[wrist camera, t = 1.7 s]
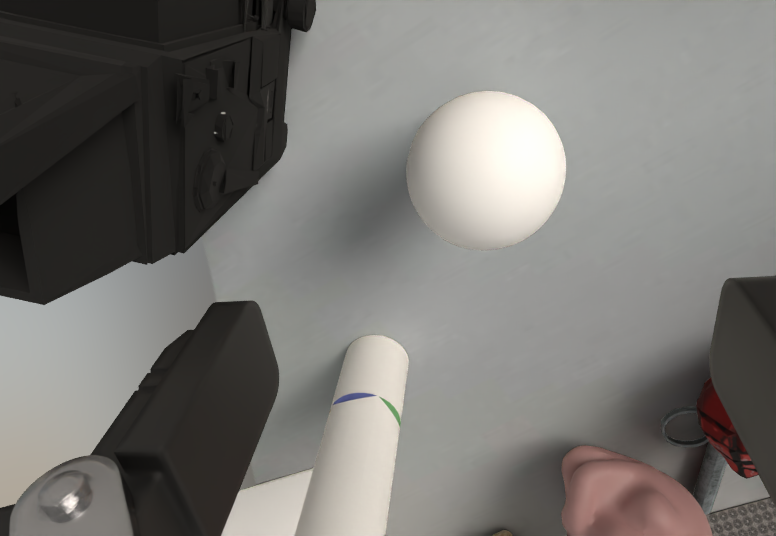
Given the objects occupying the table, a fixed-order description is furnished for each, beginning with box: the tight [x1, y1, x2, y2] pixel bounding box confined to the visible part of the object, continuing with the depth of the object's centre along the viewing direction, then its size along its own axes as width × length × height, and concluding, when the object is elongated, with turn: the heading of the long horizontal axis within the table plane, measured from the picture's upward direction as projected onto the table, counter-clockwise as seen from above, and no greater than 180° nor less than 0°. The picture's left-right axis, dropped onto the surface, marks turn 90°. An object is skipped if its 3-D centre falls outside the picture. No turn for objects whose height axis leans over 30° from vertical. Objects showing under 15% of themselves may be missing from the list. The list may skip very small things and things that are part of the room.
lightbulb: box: [406, 91, 566, 250], centre depth 24 cm, size 6×6×11 cm
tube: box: [295, 335, 409, 536], centre depth 32 cm, size 4×4×15 cm
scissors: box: [661, 407, 727, 515], centre depth 38 cm, size 8×18×2 cm, turn 4°
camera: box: [0, 0, 316, 305], centre depth 19 cm, size 10×14×20 cm
